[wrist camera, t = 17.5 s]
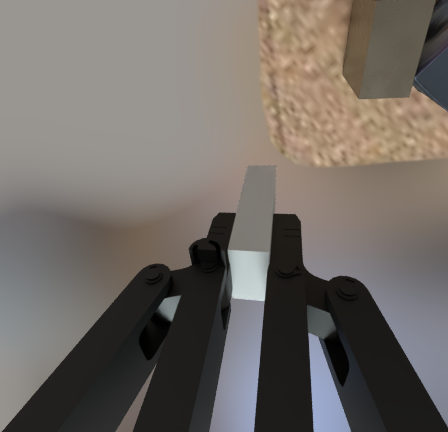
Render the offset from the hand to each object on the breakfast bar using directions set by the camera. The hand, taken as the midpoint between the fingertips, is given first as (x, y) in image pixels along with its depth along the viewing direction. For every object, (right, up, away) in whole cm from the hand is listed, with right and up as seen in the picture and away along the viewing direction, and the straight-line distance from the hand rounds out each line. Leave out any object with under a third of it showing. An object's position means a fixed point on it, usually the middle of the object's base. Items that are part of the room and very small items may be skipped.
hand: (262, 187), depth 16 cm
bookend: (+13, +17, +15) cm, 26 cm away
